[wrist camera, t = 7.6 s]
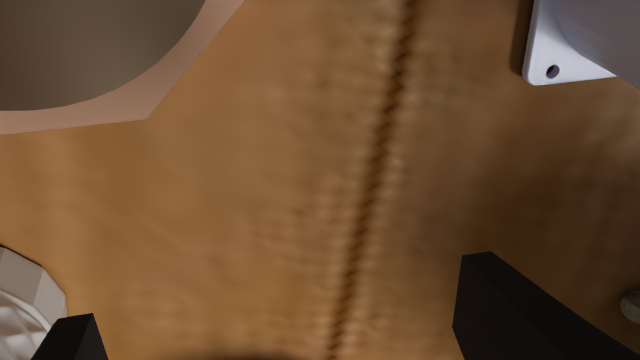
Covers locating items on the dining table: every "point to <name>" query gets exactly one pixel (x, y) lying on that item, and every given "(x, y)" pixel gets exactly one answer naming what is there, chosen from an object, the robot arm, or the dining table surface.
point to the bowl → (131, 82)
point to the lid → (82, 46)
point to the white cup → (26, 306)
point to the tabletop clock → (631, 306)
